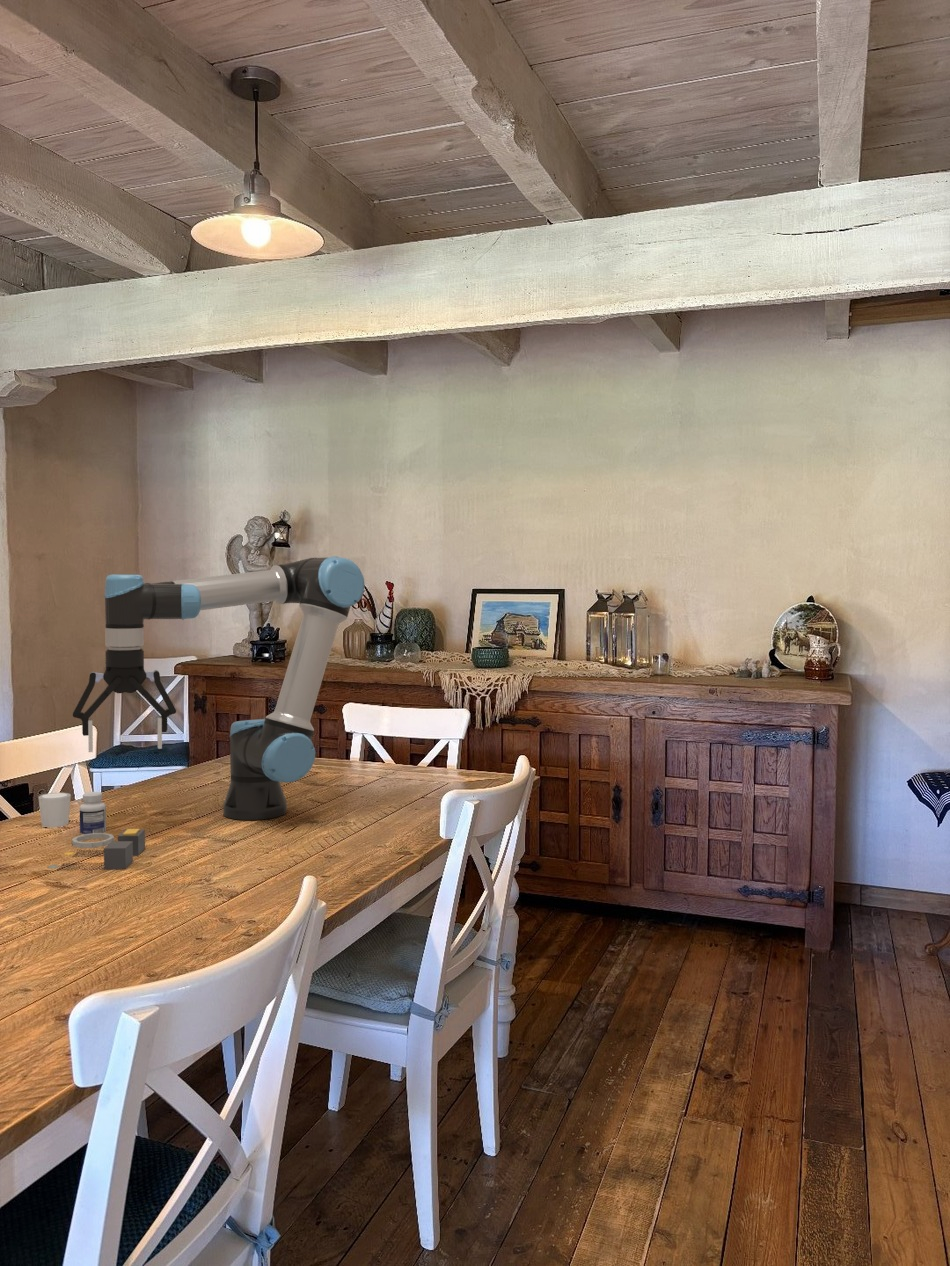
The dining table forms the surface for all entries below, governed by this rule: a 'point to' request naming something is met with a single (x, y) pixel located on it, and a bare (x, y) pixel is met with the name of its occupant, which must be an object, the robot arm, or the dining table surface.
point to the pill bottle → (92, 814)
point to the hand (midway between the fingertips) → (125, 749)
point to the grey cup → (54, 809)
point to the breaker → (118, 855)
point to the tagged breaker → (134, 839)
